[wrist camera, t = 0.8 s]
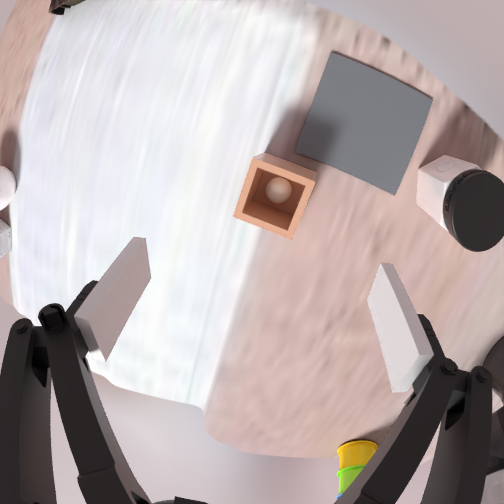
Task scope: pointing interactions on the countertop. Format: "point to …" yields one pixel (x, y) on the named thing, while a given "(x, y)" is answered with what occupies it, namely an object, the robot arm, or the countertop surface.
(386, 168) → the mat
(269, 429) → the countertop surface
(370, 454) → the stacking cups
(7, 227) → the supplement box
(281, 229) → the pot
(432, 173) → the jar
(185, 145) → the countertop surface
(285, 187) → the ball
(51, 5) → the diary
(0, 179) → the lidded jar
